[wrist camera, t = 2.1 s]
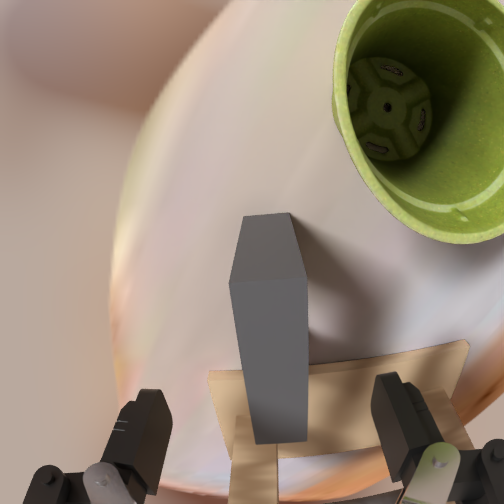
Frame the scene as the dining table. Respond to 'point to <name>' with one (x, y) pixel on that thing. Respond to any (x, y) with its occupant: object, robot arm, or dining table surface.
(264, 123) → the dining table surface
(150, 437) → the robot arm
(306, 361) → the rubber u
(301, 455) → the bar rack
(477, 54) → the plant pot
